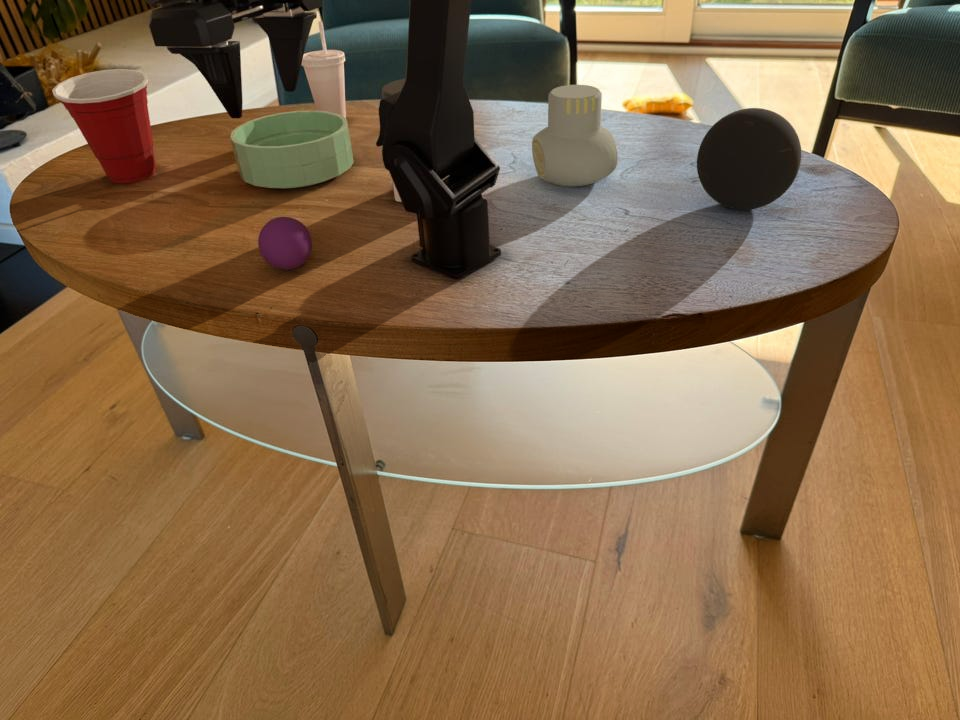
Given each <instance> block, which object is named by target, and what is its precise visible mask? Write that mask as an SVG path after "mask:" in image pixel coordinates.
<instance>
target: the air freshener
mask: <svg viewBox="0 0 960 720" xmlns="http://www.w3.org/2000/svg"><path fill="white" fill-rule="evenodd" d="M547 95H548V99H547V100H548V103H547V104H548V105H547V107H548V109H547V126H546V127H544V128H543V129H540V130H539V131H538V132H537V133H535V135H534V136H533V138H532V141H531V154H532V160H533V164H534V168H535V171H536V174H537V175H538V176H539V178H540V179H541V180H543V181H545V182H548V183H549V184H552V185H555V186H559V187H570V188H571V187H574V188H575V187H576V188H577V187H585V186H589V185H592V184H596V183H599V182H601V181H602V180H604V179H605V178H607V177H609V176H610V175H611V174H612V173H613V172H614V171H615V170H616V169H617V166H618V160H619V159H618V156H619V155H618V148H617V144H616V141H615V138H614V136H613V134H612V133H611V131H610V130H609V129H607V128H606V127H604V126H603V125H602V99H603V94H602V91H601V90H600V88H597V87H596V86H593V85H587V84H567V85H560V86H557V87H555V88H553V89H552V90H550V92H549V93H548V94H547Z"/></svg>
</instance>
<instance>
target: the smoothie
mask: <svg viewBox="0 0 960 720" xmlns="http://www.w3.org/2000/svg"><path fill="white" fill-rule="evenodd" d="M317 24H318V28H319V35H320V41H321V47H322V48H321V50H320V49H319V50H314V51H309V52H306V53H304V55H303V59H302V64H301V67H303V69H304V73H305V76H306V79H307V82H308V86H309V89H310V93H311V95H312V100H313V102H314V106H315V109H316V111H326V112H332V113H336V114H339V115H342V116H343V117H345V118H346V119H347V113H346V111H347V110H346V88H345V87H346V85H345V62H346V55H345V52H344V51H342V50H339V49H327V42H326V37H325V30H324V24H323V21H322V20H319V21H318V23H317Z"/></svg>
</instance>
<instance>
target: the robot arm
mask: <svg viewBox="0 0 960 720" xmlns="http://www.w3.org/2000/svg"><path fill="white" fill-rule="evenodd" d="M144 1H145V2H146V3H147V4H148V5H149V6H151V7H155V6H160V7H157V8H154V9H152V10H151V12H150V15H149V17H148V20H147V25H148V28H149V30H150V34H151V37H152V40H153V43H154V46H155V47H165V48H166V49H167V51H168V52H169V53H170V54H172V55H180V56H182V57H183V58H185V59H186V60H188V61H189V62H190V63H192V64H193V65H194V66H195V67H196V68H197V71H199V72H200V74H201V75H202V76H203V78H204V79H205V81H206V82H207V83H208V84H209V87H210V88H211V90H212V91H213V93H214V94H215V96H216V97H217V99H218V101H219V102H220V103H221V105H222V107H223V108H224V110H225V111H226V113H227V114H228V116H229V117H230V118H231V119H237V120H238V119H241V118H242V117H243V104H244V103H243V101H244V100H243V84H242V82H243V81H242V60H241V59H242V57H241V42H240V40H233V39H232V38H233V34H234V31H235V27H236V26H235V24H237V23H240V22H243V21H247V20H250V19H253V21H254V22H255V23H256V24H257V25H258V26H259V28H261V29H262V31H263V32H264V33H265V34H266V35H267V37H268V40H269V44H270V47H271V50H272V54H273V58H274V61H275V65H276V68H277V71H278V75H279V79H280V81H281V83H282V86H283V90H284V91H285V92H288V93H294V92H295V91H296V90H297V85H298V82H299V76H300V71H301V67H302V65H301V64H302V59H303V55H304V54H305V50H306V47H307V44H308V41H309V37H310V34H311V29H312V26H313V23H314V20H315V19H317V18H318V14H317V12H316V11H314V10H317V9H320V8H322V7H323V1H322V0H144ZM471 8H472V0H409V10H408V11H409V12H408V26H407V27H408V28H407V29H408V31H407V45H406V46H407V49H406V66H405V67H406V68H405V77H404V79H405V82H404V85H403V87H402V89H401V91H399V92H397V93H394V94H392V95H390V96H388V97H386V98H384V99H383V98H382V99H380V100H379V105H378V121H379V133H378V138H377V139H376V142H375V145H376V147H378V148H380V147H381V157H382V163H383V167H384V169H385V170H386V171H388V172H389V175H390V177H391V180H392V179H393V181H392V183H393V182H394V184H395V187H396V189H397V191H398V194H399V196H400V199H401V201H402V202H401V203H402V206H403V208H404V210H405V212H407V213H412V214H416V220H417V221H416V222H417V231H418V238H419V247H420V248H421V249H420V250H418V251H416V252H414V253H412V254H411V255H410V260H411V262H413V263H416V264H417V265H420V266H423V267H425V268H427V269H430V270H432V271H434V272H437V273H439V274H442V275H444V276H446V277H449V278H450V279H454V280H458V279H461V278H463V277H465V276H467V275H469V274H471V273H472V272H473V271H475V270H477V269H479V268H481V267H483V266H484V265H486V264H487V263H490V262H491V261H493V260H495V259H498V257H500V256H501V255H502V249H501V248H499V247H497V246H494V245H491V243H490V224H489V202H488V201H489V200H488V198H487V199H486V198H484V197H483V193H484V192H486V191H488V190H489V189H491V188H493V187H494V186H495V185H496V183H497V181H498V177H499V174H500V170H501V167H500V165H499V164H498V163H497V161H496V160H495V159H494V157H492V155H491V154H490V153H489V152H488V151H487V149H486V148H485V147H484V146H483V145H482V144H481V142H480V141H479V140H478V138H476V136H475V114H474V113H475V112H474V108H473V106H472V104H471V101H470V98H469V95H468V93H467V90H466V88H465V83H464V75H465V66H466V56H467V47H468V38H469V37H468V36H469V29H470V28H469V26H470V18H471ZM448 175H449V176H448ZM447 176H448V177H447ZM445 177H447V178H445ZM444 178H445V179H444ZM442 179H444V180H442Z"/></svg>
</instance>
